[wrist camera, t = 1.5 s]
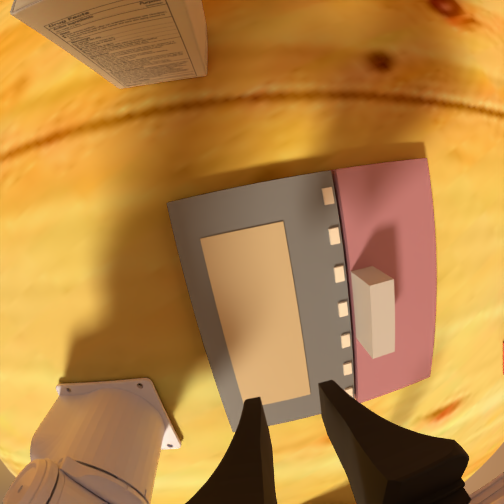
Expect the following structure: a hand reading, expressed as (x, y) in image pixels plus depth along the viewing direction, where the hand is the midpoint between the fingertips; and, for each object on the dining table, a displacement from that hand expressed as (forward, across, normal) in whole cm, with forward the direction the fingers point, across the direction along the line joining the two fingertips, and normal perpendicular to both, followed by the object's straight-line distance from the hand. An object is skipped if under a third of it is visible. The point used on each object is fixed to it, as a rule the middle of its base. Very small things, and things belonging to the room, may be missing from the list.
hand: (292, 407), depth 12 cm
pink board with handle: (+9, -9, 0) cm, 13 cm away
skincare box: (+10, +4, -19) cm, 22 cm away
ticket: (+9, 0, 0) cm, 9 cm away
